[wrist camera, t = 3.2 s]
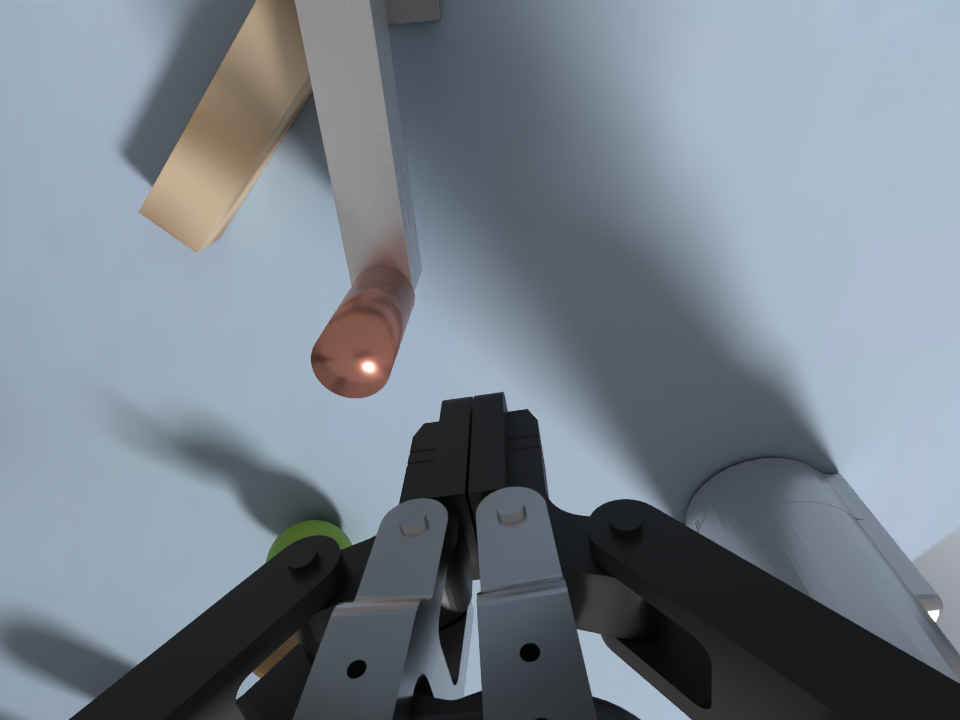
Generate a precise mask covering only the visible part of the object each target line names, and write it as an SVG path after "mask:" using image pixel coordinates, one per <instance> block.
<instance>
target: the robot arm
mask: <svg viewBox="0 0 960 720" xmlns="http://www.w3.org/2000/svg"><path fill="white" fill-rule="evenodd" d="M479 579H480V585H481V592H479V593H477V615H478V632H479V649H480V666H481V684H482V691H480V692H477V693H474V694H471V695H468V696H466V697H464V688H465V680H466V672H467V664H468V656H469V647H470V639H471V631H472V623H473V606H472V602H471V597H472V580H479ZM942 611H943V603H942V600H941V599H940V597H939V596H938V594H936V592H935V591H934V589H933V588H932V587H931V586H930V585H929V583H928V582H927V581H926V580H925V578H924V577H923V576H922V575H921V573H920V572H919V571H918V570H917V568H916V567H915V566H914V565H913V563H912V562H911V561H910V560H909V558H908V557H907V556H906V555H905V553H904V552H903V551H902V550H901V548H900V547H899V546H898V545H897V543H896V542H895V541H894V540H893V539H892V537H891V536H890V535H889V534H888V532H887V531H886V530H885V529H884V527H883V526H882V525H881V524H880V522H879V521H878V520H877V519H876V517H875V516H874V515H873V514H872V512H871V511H870V510H869V509H868V508H867V506H866V505H865V504H864V503H863V501H862V500H861V499H860V498H859V496H858V495H857V494H856V493H855V491H854V490H853V489H852V488H851V486H850V485H849V484H848V483H847V481H846V480H845V479H844V478H843V477H842V475H840V474H823V473H821V472H819V471H817V470H816V469H814V468H812V467H811V466H809V465H807V464H805V463H802V462H799V461H796V460H792V459H784V458H760V459H755V460H751V461H746V462H742V463H740V464H737V465H734V466H732V467H729V468H727V469H725V470H724V471H722V472H720V473H718V474H717V475H715V476H713V477H712V478H711V479H710V480H709V481H707V482H706V483H705V484H704V485H703V486H702V487H701V488H700V489H699V490H698V492H697V493H696V494H695V495H694V496H693V498H692V500H691V502H690V504H689V506H688V508H687V512H686V517H685V525H684V524H682V523H681V522H679V521H677V520H675V519H674V518H672V517H670V516H668V515H667V514H665V513H663V512H661V511H660V510H658V509H656V508H655V507H653V506H651V505H649V504H647V503H644V502H641V501H637V500H630V499H620V500H614V501H611V502H607V503H605V504H603V505H601V506H600V507H598V508H597V509H596V510H595V511H593V513H592V514H591V515H590V517H589V516H581V515H575V514H571V513H568V512H565V511H563V510H561V509H559V508H558V507H556V506H555V505H554V504H553V503H552V502H551V501H550V500H549V495H548V487H547V479H546V471H545V464H544V458H543V452H542V445H541V439H540V433H539V427H538V420H537V419H536V418H535V417H534V416H533V415H532V414H531V413H530V411H529V410H528V409H525V410H517V411H510V412H508V410H507V405H506V400H505V395H504V392H499V393H492V394H485V395H478V396H474V399H473V397H465V398H458V399H451V400H444V401H442V406H441V413H440V419H439V422H432V423H425V424H423V425H422V427H421V428H420V429H419V430H418V432H417V433H416V434H415V435H414V437H413V440H412V444H411V449H410V454H409V459H408V466H407V468H406V473H405V478H404V483H403V488H402V492H401V497H400V502H399V505H397V506H396V507H394V508H393V509H392V510H390V511H389V512H388V513H387V514H386V515H385V517H384V518H383V520H382V522H381V524H380V526H379V529H378V532H377V535H376V536H374V537H372V538H370V539H368V540H365V541H363V542H360V543H358V544H355V545H352V546H349V547H347V548H344V549H340V547H339V544H338V543H337V542H336V541H335V540H334V539H333V538H331V537H328V536H324V535H315V536H309V537H305V538H302V539H300V540H297V541H295V542H293V543H292V544H290V545H288V546H287V547H286V548H284V549H283V550H282V551H280V552H279V553H278V554H277V555H275V556H274V557H273V558H272V559H270V560H269V561H268V562H267V563H265V564H264V565H263V566H262V567H260V568H259V569H258V570H256V571H255V572H254V573H253V574H251V575H250V576H249V577H248V578H246V579H245V580H244V581H243V582H241V583H240V584H239V585H238V586H236V587H235V588H234V589H233V590H231V591H230V592H229V593H228V594H226V595H225V596H224V597H223V598H221V599H220V600H219V601H217V602H216V603H215V604H214V605H212V606H211V607H210V608H209V609H207V610H206V611H205V612H204V613H202V614H201V615H200V616H199V617H197V618H196V619H195V620H194V621H192V622H191V623H190V624H189V625H187V626H186V627H185V628H184V629H182V630H181V631H180V632H178V633H177V634H176V635H175V636H173V637H172V638H171V639H170V640H168V641H167V642H166V643H165V644H163V645H162V646H161V647H160V648H158V649H157V650H156V651H155V652H153V653H152V654H151V655H150V656H148V657H147V658H146V659H145V660H143V661H142V662H141V663H139V664H138V665H137V666H136V667H134V668H133V669H132V670H131V671H129V672H128V673H127V674H126V675H124V676H123V677H122V678H121V679H119V680H118V681H117V682H116V683H114V684H113V685H112V686H111V687H109V688H108V689H107V690H106V691H104V692H103V693H102V694H100V695H99V696H98V697H97V698H95V699H94V700H93V701H92V702H90V703H89V704H88V705H87V706H85V707H84V708H83V709H82V710H80V711H79V712H78V713H77V714H75V715H74V716H73V717H72V718H70V719H69V720H640V719H639V718H638V717H636V716H635V715H633V714H631V713H630V712H628V711H626V710H625V709H623V708H621V707H619V706H617V705H615V704H613V703H610V702H608V701H605V700H602V699H599V698H596V697H593V696H592V694H591V689H590V685H589V681H588V676H587V672H586V668H585V663H584V659H583V655H582V650H581V646H580V642H579V637H578V633H577V629H580V630H584V631H589V632H594V633H599V634H601V636H602V638H603V641H604V642H605V644H606V645H607V646H608V647H609V648H610V649H611V650H612V651H613V652H614V653H615V654H616V655H618V656H619V657H620V658H621V659H622V660H623V661H624V662H626V663H627V664H628V665H629V666H630V667H631V668H633V669H634V670H635V671H636V672H637V673H638V674H640V675H641V676H642V677H643V678H644V679H645V680H647V681H648V682H649V683H650V684H651V685H652V686H653V687H655V688H656V689H657V690H658V691H659V692H660V693H662V694H663V695H664V696H665V697H666V698H667V699H669V700H670V701H671V702H672V703H673V704H674V705H676V706H677V707H678V708H679V709H680V710H681V711H682V712H684V713H685V714H686V715H687V716H688V717H689V718H691V719H692V720H960V655H959V653H958V652H957V650H956V649H955V648H954V647H953V645H952V644H951V642H950V641H949V640H948V639H947V637H946V636H945V634H944V633H943V632H942V630H941V629H940V628H939V627H938V625H937V624H938V621H939V619H940V616H941V614H942ZM294 633H295V635H296V637H297V639H298V641H299V643H298V644H297V645H296V646H295V647H294V648H293V649H292V650H291V651H290V652H289V653H287V654H286V655H285V656H284V657H283V658H282V659H281V660H280V661H279V662H278V663H277V664H276V665H275V666H274V667H272V668H271V669H270V670H269V671H268V672H267V673H266V674H265V675H264V676H263V677H262V678H261V679H260V680H259V681H258V682H256V683H255V684H254V685H253V686H252V687H251V688H250V689H249V690H248V691H247V692H246V693H245V694H244V695H242V696H241V697H240V698H238V699H237V700H236V695H237V692H238V689H239V687H240V685H241V684H242V682H243V681H244V680H245V678H246V677H247V676H248V675H249V674H250V673H252V672H253V671H254V670H255V669H256V668H257V667H258V666H259V665H260V664H261V663H262V662H264V661H265V660H266V659H267V658H268V657H269V656H270V655H271V654H272V653H273V652H274V651H276V650H277V649H278V648H279V647H280V646H281V645H282V644H283V643H284V642H285V641H286V640H288V639H289V638H290V637H291V636H292V635H293V634H294Z"/></svg>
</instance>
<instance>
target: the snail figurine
mask: <svg viewBox="0 0 960 720" xmlns="http://www.w3.org/2000/svg"><path fill="white" fill-rule="evenodd" d="M315 535H324V536H328V537H331V538H333V539H334V540H335V541H336V542H337V543H338V544H339V547H340V549H344V548H347V547H349V546H352V544H351V542H350V540H349V538H348V537H347V535H346V534H345V533H344V532H343V531H342V530H341V529H340V528H338V527H337V526H335V525H334V524H332V523H329V522H326V521H322V520H306V521H302V522H299V523H296V524H294V525H292V526H291V527H289V528H287V529H286V530H285V531H283V532H282V533H281V534H280V535H279V536H278V538H277V539H276V540H275V541H274V543H273V545H272V546H271V548H270V551H269V553H268V556H267V560H266V563H267V562H268V561H269V560H270V559H272V558H273V557H274V556H275V555H277V554H278V553H279V552H280V551H282V550H283V549H284V548H286V547H287V546H288V545H290V544H292V543H293V542H295V541H297V540H300V539H302V538H305V537H309V536H315ZM298 643H299V641H298V639H297V637H296V635H295V633H294V634H293V635H292V636H291V637H290V638H289V639H288V640H286V641H285V642H284V643H283V644H282V645H281V646H280V647H279V648H278V649H277V650H276V651H274V652H273V653H272V654H271V655H270V656H269V657H268V658H267V659H266V660H265V661H264V662H262V663H261V664H260V665H259V666H258V667H257V668H256V669H255V670H254V671H253V673H254V674H255V675H257V676H258V677H260V678H262V677H263V676H264V675H265V674H266V673H267V672H268V671H269V670H270V669H271V668H272V667H274V666H275V665H276V664H277V663H278V662H279V661H280V660H281V659H282V658H283V657H284V656H285V655H286V654H287V653H289V652H290V651H291V650H292V649H293V648H294V647H295V646H296V645H297V644H298Z"/></svg>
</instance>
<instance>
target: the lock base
mask: <svg viewBox="0 0 960 720" xmlns="http://www.w3.org/2000/svg"><path fill="white" fill-rule="evenodd" d="M384 1H385V9H386V16H387V23H388V25H395V24H405V23H414V22H424V21H434V20H441V16H440V6H439V0H384ZM312 92H313V90H312V85H311V80H310V75H309V70H308V65H307V60H306V55H305V50H304V45H303V40H302V35H301V30H300V25H299V20H298V15H297V10H296V5H295V0H256V2H255V4H254V6H253V7H252V9H251V11H250V13H249V15H248V16H247V18H246V20H245V22H244V24H243V25H242V27H241V29H240V31H239V33H238V34H237V36H236V38H235V40H234V42H233V43H232V45H231V47H230V49H229V51H228V52H227V54H226V56H225V58H224V60H223V61H222V63H221V65H220V67H219V69H218V70H217V72H216V74H215V76H214V78H213V79H212V81H211V83H210V85H209V87H208V88H207V90H206V92H205V94H204V96H203V97H202V99H201V101H200V103H199V105H198V106H197V108H196V110H195V112H194V114H193V115H192V117H191V119H190V121H189V123H188V124H187V126H186V128H185V130H184V132H183V133H182V135H181V137H180V139H179V141H178V142H177V144H176V146H175V148H174V150H173V151H172V153H171V155H170V157H169V159H168V160H167V162H166V164H165V166H164V168H163V169H162V171H161V173H160V175H159V177H158V178H157V180H156V182H155V184H154V186H153V187H152V189H151V191H150V193H149V195H148V196H147V198H146V200H145V202H144V204H143V205H142V207H141V209H140V211H139V213H141V214H142V215H143V216H145V217H146V218H148V219H149V220H151V221H152V222H153V223H155V224H156V225H158V226H159V227H161V228H162V229H163V230H165V231H166V232H168V233H169V234H170V235H172V236H173V237H175V238H176V239H178V240H179V241H180V242H182V243H183V244H185V245H186V246H188V247H189V248H190V249H192V250H193V251H195V252H196V253H198V252H199V251H201V250H202V249H204V248H205V247H207V246H209V245H210V244H212V243H213V242H215V241H216V240H218V239H219V238H220V236H221V235H222V233H223V232H224V230H225V229H226V227H227V226H228V224H229V222H230V221H231V219H232V218H233V216H234V215H235V213H236V211H237V210H238V208H239V207H240V205H241V204H242V202H243V200H244V199H245V197H246V196H247V194H248V193H249V191H250V189H251V188H252V186H253V185H254V183H255V182H256V180H257V178H258V177H259V175H260V174H261V172H262V171H263V169H264V167H265V166H266V164H267V163H268V161H269V160H270V158H271V156H272V155H273V153H274V152H275V150H276V149H277V147H278V145H279V144H280V142H281V141H282V139H283V138H284V136H285V134H286V133H287V131H288V130H289V128H290V127H291V125H292V124H293V122H294V120H295V119H296V117H297V116H298V114H299V113H300V111H301V109H302V108H303V106H304V105H305V103H306V102H307V100H308V98H309V97H310V95H311V94H312Z"/></svg>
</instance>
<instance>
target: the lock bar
mask: <svg viewBox="0 0 960 720" xmlns="http://www.w3.org/2000/svg"><path fill="white" fill-rule="evenodd" d="M295 5H296V10H297V15H298V20H299V25H300V30H301V35H302V40H303V45H304V50H305V55H306V60H307V65H308V70H309V75H310V80H311V85H312V90H313V95H314V100H315V105H316V110H317V115H318V120H319V125H320V130H321V135H322V140H323V145H324V150H325V155H326V160H327V165H328V170H329V175H330V180H331V185H332V190H333V195H334V200H335V205H336V210H337V215H338V220H339V225H340V230H341V235H342V240H343V245H344V250H345V255H346V260H347V265H348V270H349V275H350V280H351V285H352V287H351V288H350V290H349V291H348V293H347V294H346V296H345V298H344V299H343V301H342V302H341V304H340V305H339V307H338V309H337V310H336V312H335V313H334V315H333V316H332V318H331V320H330V321H329V323H328V324H327V326H326V327H325V329H324V331H323V332H322V334H321V335H320V337H319V338H318V340H317V342H316V343H315V345H314V347H313V350H312V354H311V364H312V368H313V371H314V373H315V375H316V377H317V378H318V380H319V381H320V382H321V383H322V384H323V385H324V386H325V387H326V388H327V389H329V390H330V391H332V392H333V393H335V394H338V395H340V396H343V397H348V398H363V397H368V396H370V395H373V394H375V393H377V392H378V391H379V390H381V389H382V388H383V387H384V385H385V384H386V383H387V381H388V379H389V376H390V373H391V370H392V367H393V364H394V361H395V359H396V356H397V353H398V350H399V347H400V344H401V341H402V338H403V335H404V332H405V329H406V327H407V324H408V321H409V318H410V315H411V312H412V309H413V306H414V302H415V294H414V291H415V288H416V285H417V282H418V280H419V277H420V274H421V271H422V267H421V260H420V253H419V245H418V238H417V231H416V224H415V217H414V210H413V202H412V195H411V188H410V181H409V174H408V167H407V159H406V152H405V145H404V138H403V131H402V123H401V116H400V109H399V102H398V95H397V88H396V80H395V73H394V66H393V59H392V52H391V44H390V37H389V30H388V23H387V16H386V9H385V1H384V0H295Z"/></svg>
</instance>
